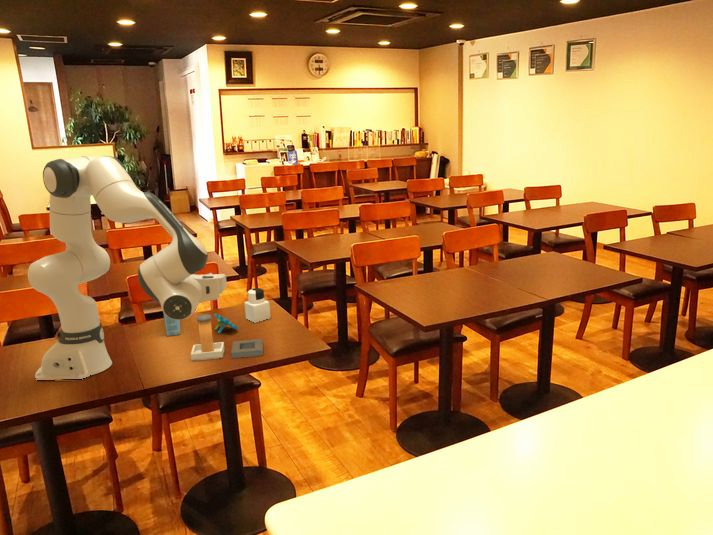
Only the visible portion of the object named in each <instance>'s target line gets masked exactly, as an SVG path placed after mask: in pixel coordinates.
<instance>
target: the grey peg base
mask: <svg viewBox="0 0 713 535" xmlns="http://www.w3.org/2000/svg"><path fill="white" fill-rule="evenodd" d="M263 341H264V340H263V338H257V339H245V340H235V341H232V346H231V351H230V353H231V359H232V358H233V359H240V358H241V357H243V358H249V357H250V358H251V357H261V356H263V355H264V354H263V352H264V350H263V349H264V342H263ZM254 347H255V348H254ZM241 359H242V358H241Z"/></svg>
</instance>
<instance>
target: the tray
mask: <svg viewBox="0 0 713 535" xmlns="http://www.w3.org/2000/svg"><path fill="white" fill-rule="evenodd" d="M213 346H214V351H212V352H202V350H201V343H200V344H198V343H197V344H193V346H192V348H191V352H190V359H191V362H197V361H199V362H200V361H207V360H218V359H219V358H221V359H223V358H224V354H225V342H224V341H221V342H213Z"/></svg>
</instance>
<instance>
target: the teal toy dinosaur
mask: <svg viewBox="0 0 713 535" xmlns="http://www.w3.org/2000/svg"><path fill="white" fill-rule="evenodd" d="M213 316H214V317H215V318H216V319H217V325H216V326H215V328H214V330H215V329H216V330H215V331H217V330H218V329H219V330H218V331H217V333H218V334H219V335H220V334H221V333H222V332H223V330H224V328H227V326H229V327H230V328H232V329H234V330H239V327H237V325H235V324H233V323H232V322H231V321H229V319H228V318H224V317H223V316H221V315H219V314H218V313H214V314H213ZM220 326H221V327H220ZM219 327H220V328H219Z"/></svg>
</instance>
